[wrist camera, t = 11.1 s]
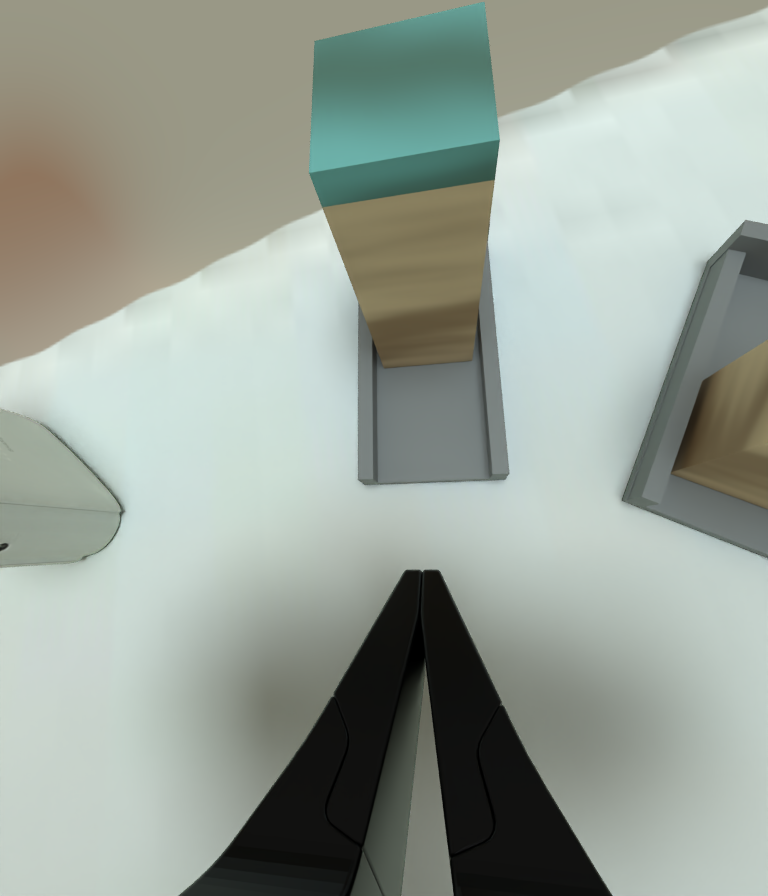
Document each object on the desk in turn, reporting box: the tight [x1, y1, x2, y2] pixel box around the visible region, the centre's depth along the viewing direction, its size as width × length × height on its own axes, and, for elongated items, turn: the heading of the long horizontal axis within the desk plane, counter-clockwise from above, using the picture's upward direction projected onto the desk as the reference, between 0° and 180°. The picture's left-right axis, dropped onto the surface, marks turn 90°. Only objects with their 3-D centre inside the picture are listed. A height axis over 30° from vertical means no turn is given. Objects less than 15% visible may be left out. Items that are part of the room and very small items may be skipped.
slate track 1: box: [358, 222, 509, 485], centre depth 19 cm, size 13×7×2 cm, turn 1°
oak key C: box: [309, 2, 500, 368], centre depth 15 cm, size 4×4×11 cm
